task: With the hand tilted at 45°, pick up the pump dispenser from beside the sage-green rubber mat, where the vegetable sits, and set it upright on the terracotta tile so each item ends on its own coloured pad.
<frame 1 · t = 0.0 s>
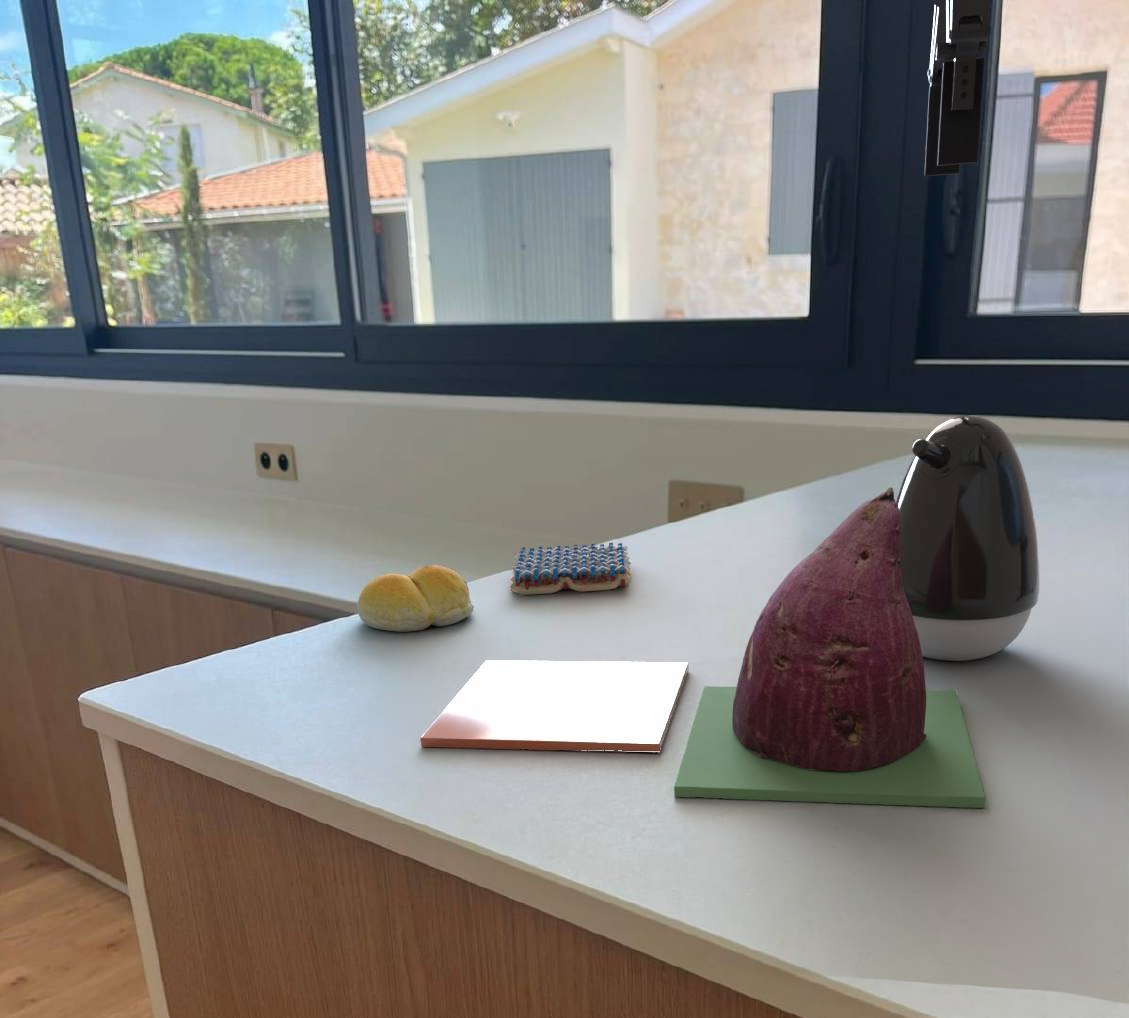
hand: (948, 170, 90), 30 cm above the worktop, tool pointing down, fingers open, 13 cm apart
pump dispenser: (950, 652, 77), on the worktop
green mat: (826, 744, 64), on the worktop
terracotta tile: (563, 706, 72), on the worktop
bread roll: (419, 620, 92), on the worktop
woven mat: (572, 581, 101), on the worktop
vegetable: (826, 737, 63), resting on green mat
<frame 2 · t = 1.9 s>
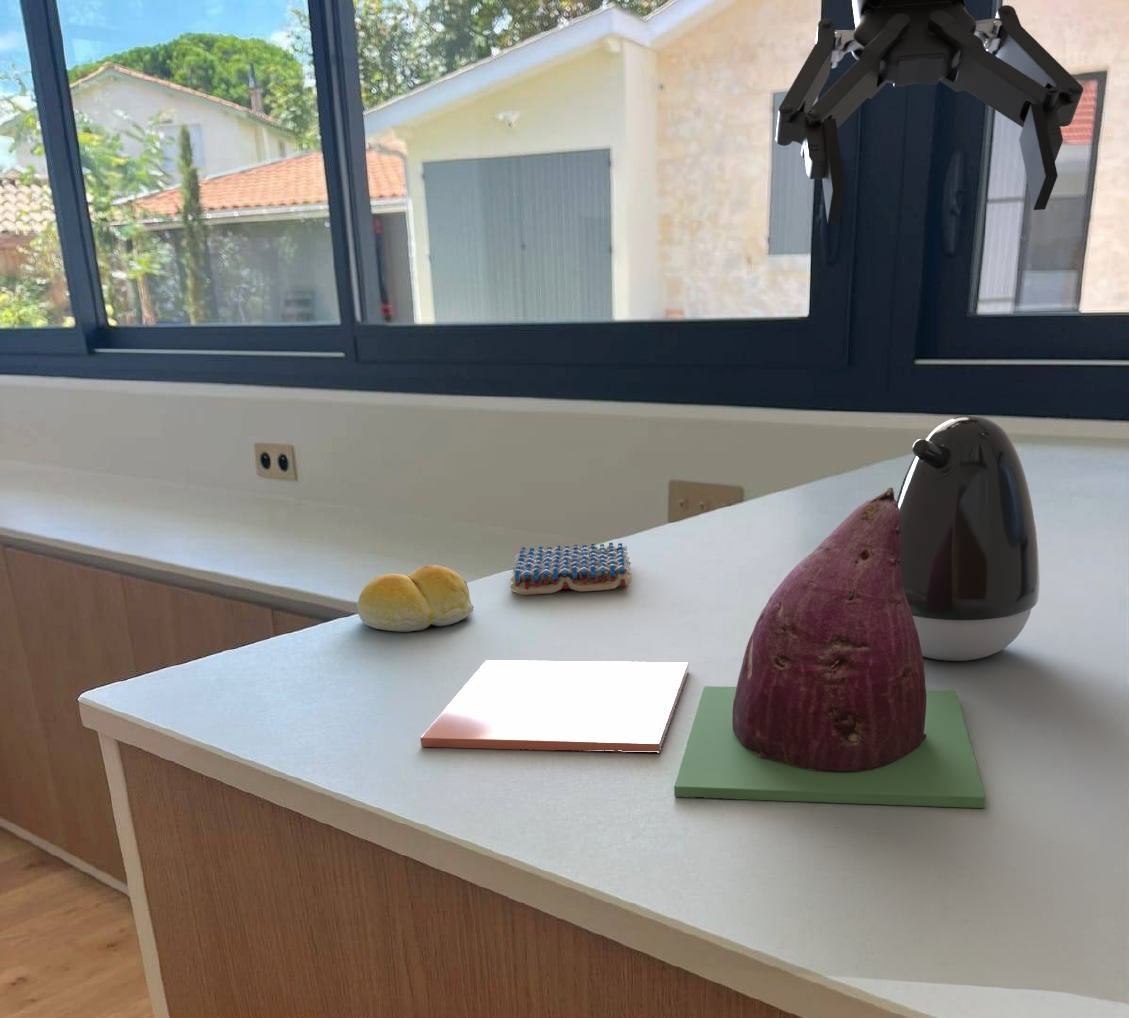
hand: (940, 200, 76), 28 cm above the worktop, tool tilted 45°, fingers open, 13 cm apart
nothing on the worktop moved.
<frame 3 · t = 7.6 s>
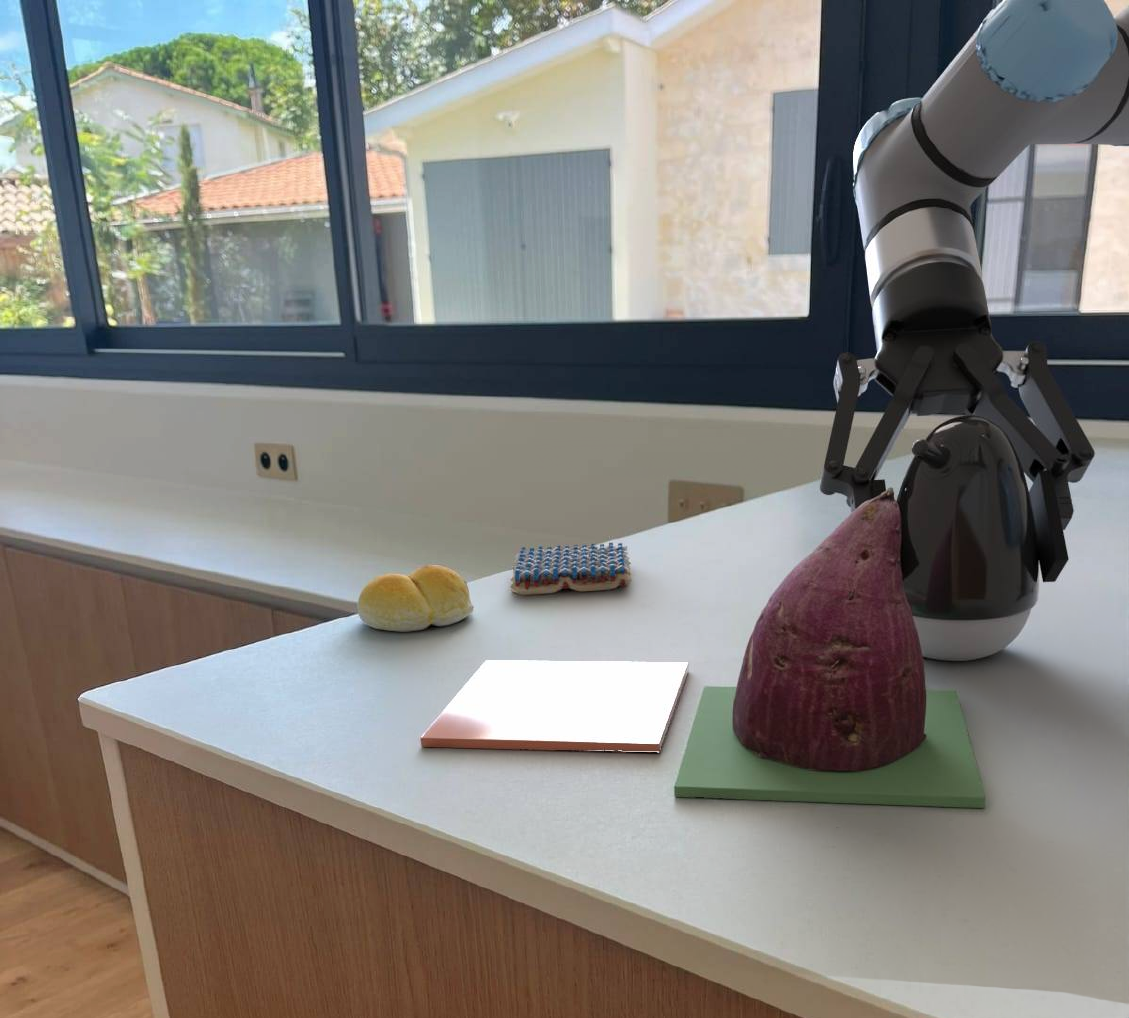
hand: (970, 575, 72), 6 cm above the worktop, tool tilted 45°, fingers closed on pump dispenser, 10 cm apart
pump dispenser: (949, 652, 77), on the worktop, touching gripper
everything else where it was.
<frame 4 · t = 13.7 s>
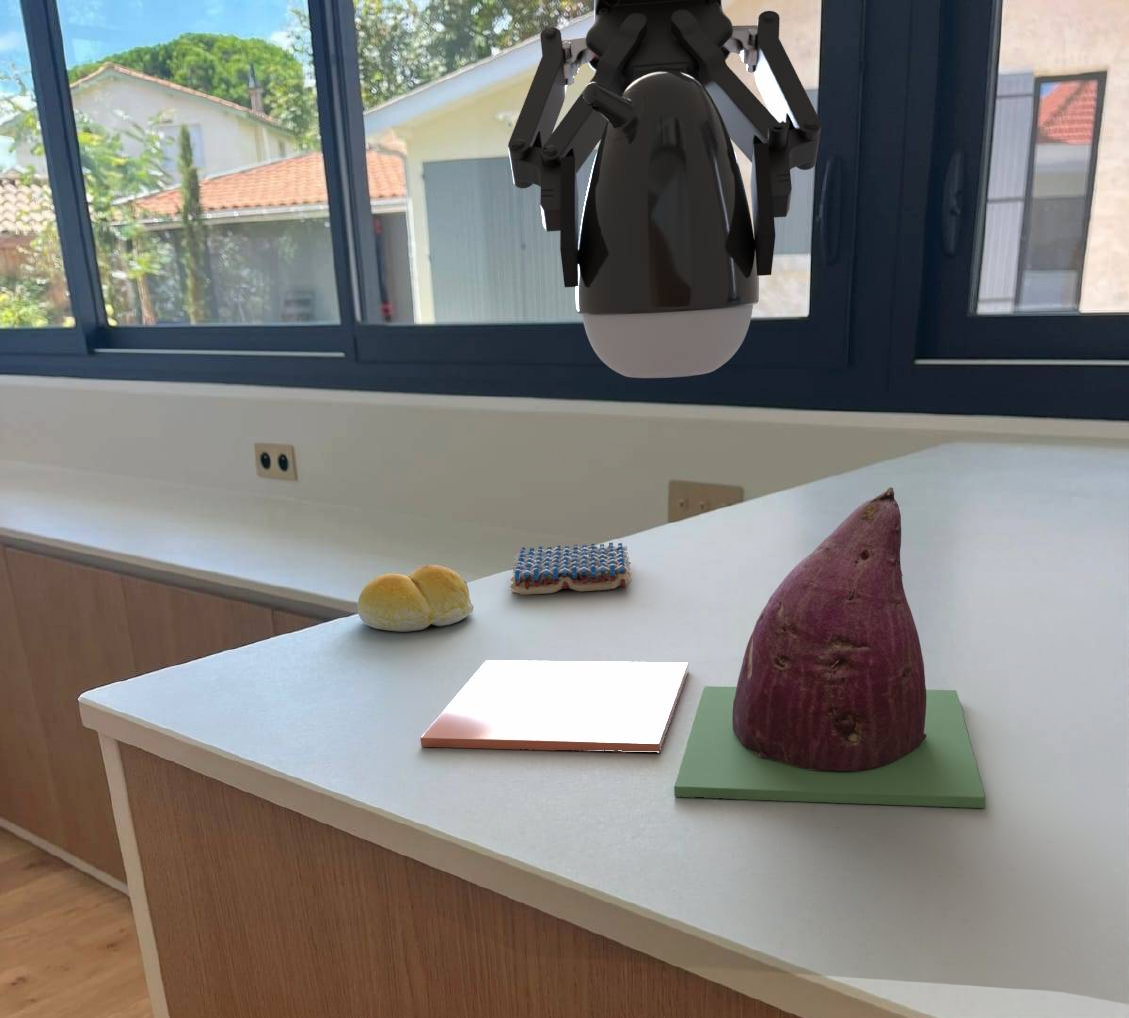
hand: (667, 262, 61), 25 cm above the worktop, tool tilted 45°, fingers closed on pump dispenser, 10 cm apart
pump dispenser: (666, 377, 66), point 19 cm above the worktop, touching gripper
everything else where it was.
when the fingers open (6 cm above the worktop, at t = 20.1 s): pump dispenser stays where it is, resting on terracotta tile.
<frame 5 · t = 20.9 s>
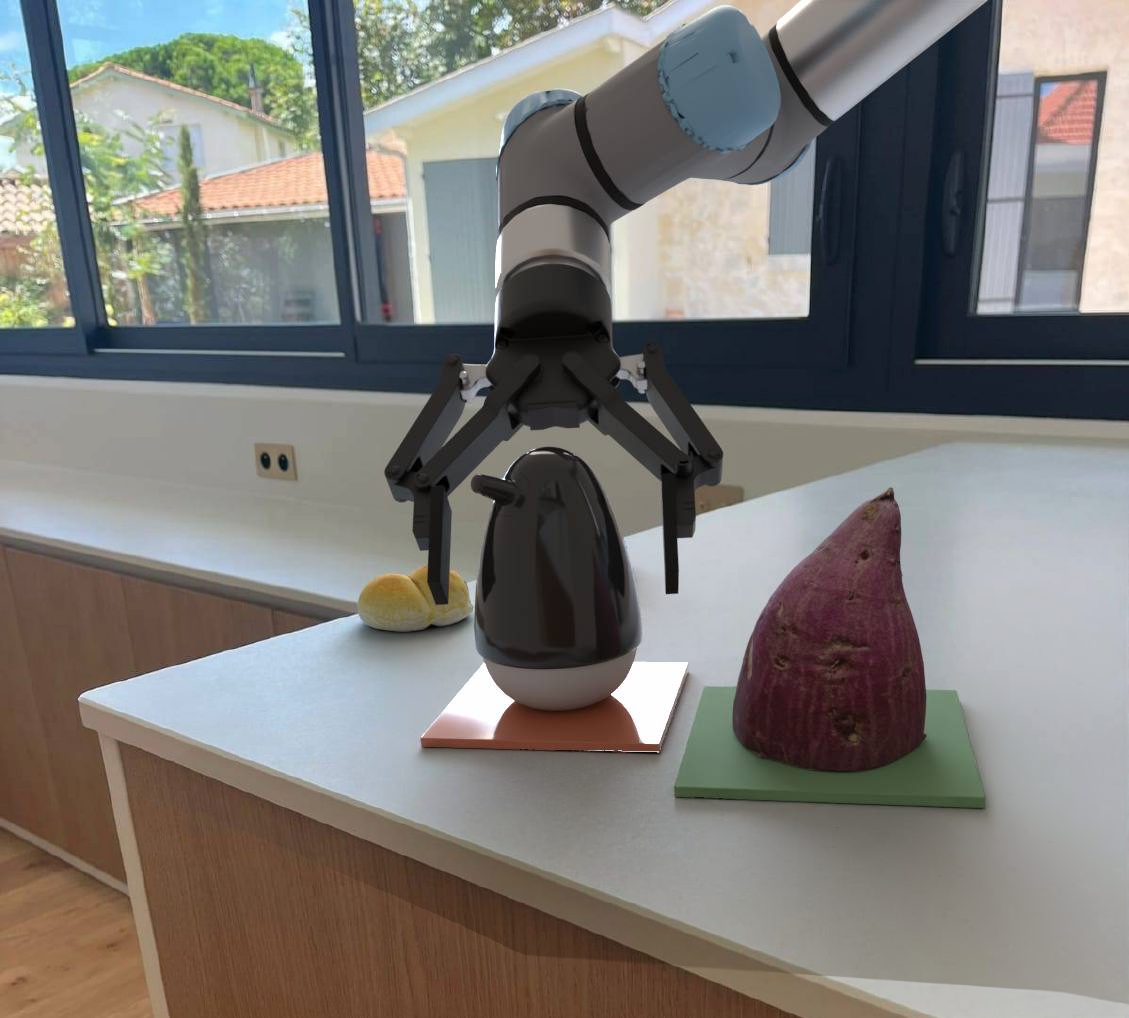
hand: (554, 588, 66), 8 cm above the worktop, tool tilted 45°, fingers open, 13 cm apart
pump dispenser: (561, 699, 72), resting on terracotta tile
everything else where it was.
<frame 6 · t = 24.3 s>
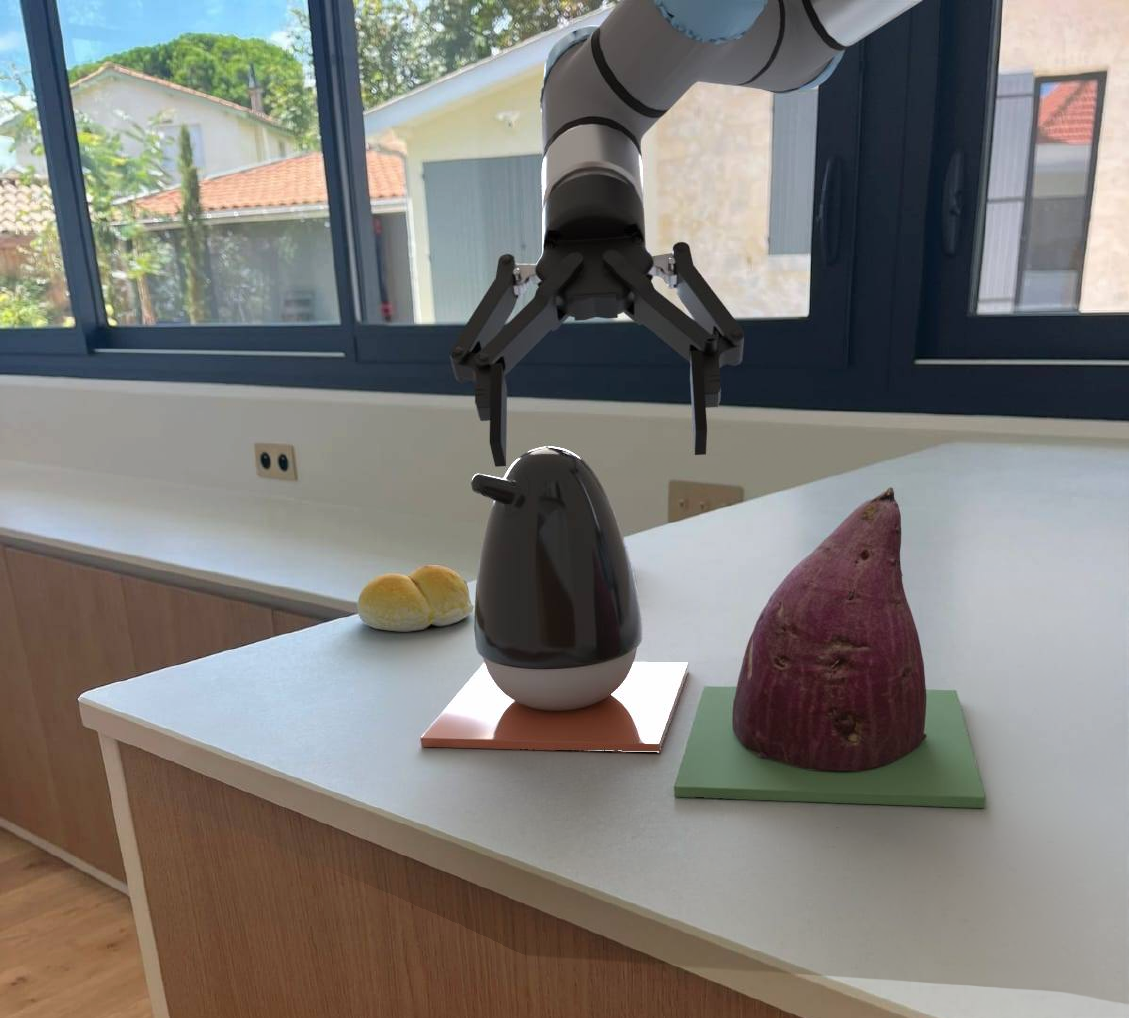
hand: (598, 449, 77), 14 cm above the worktop, tool tilted 45°, fingers open, 13 cm apart
nothing on the worktop moved.
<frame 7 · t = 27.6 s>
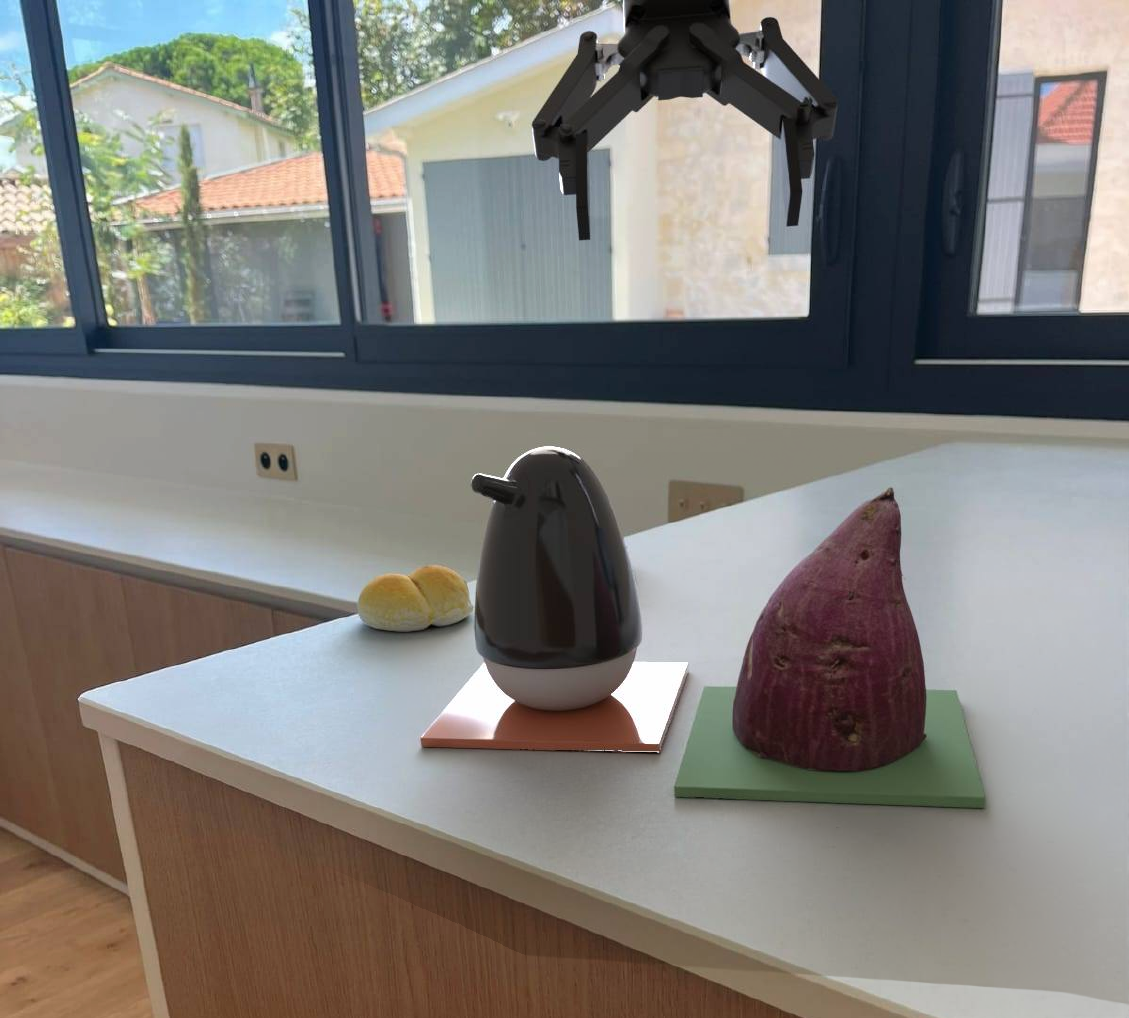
hand: (688, 217, 74), 28 cm above the worktop, tool tilted 45°, fingers open, 13 cm apart
nothing on the worktop moved.
at the end: pump dispenser inside the target area (0.1 cm from its centre), resting on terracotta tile; pump dispenser tilted 0°; vegetable inside the target area (0.0 cm from its centre), resting on green mat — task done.
